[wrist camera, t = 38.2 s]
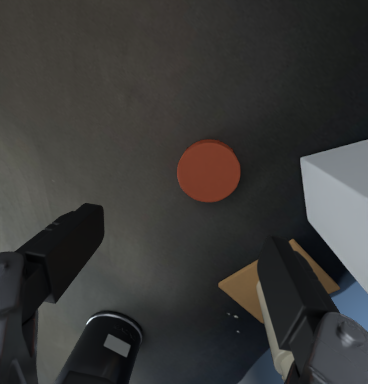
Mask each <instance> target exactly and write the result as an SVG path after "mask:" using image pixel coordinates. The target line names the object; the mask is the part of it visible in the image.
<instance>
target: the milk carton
mask: <svg viewBox="0 0 368 384" xmlns="http://www.w3.org/2000/svg"><path fill="white" fill-rule="evenodd" d="M300 163H301V171H302V179H303V187H304V195H305V203H306V210H307V218H308V221H309V222H310V223H311V225H312V226H313V227H314V228H315V230H316V231H317V232H318V233H319V235H320V236H321V237H322V238H323V239H324V241H325V242H326V243H327V244H328V246H329V247H330V248H331V249H332V251H333V252H334V253H335V254H336V255H337V257H338V258H339V259H340V260H341V262H342V263H343V264H344V265H345V267H346V268H347V269H348V270H349V271H350V273H351V274H352V275H353V276H354V278H355V279H356V280H357V281H358V282H359V284H360V285H361V286H362V287H363V289H364V290H365V291H366V292H367V293H368V140H364V141H360V142H357V143H353V144H349V145H346V146H342V147H338V148H335V149H331V150H327V151H323V152H320V153H316V154H312V155H309V156H305V157H302V158H301V159H300Z"/></svg>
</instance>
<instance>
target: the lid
mask: <svg viewBox="0 0 368 384" xmlns="http://www.w3.org/2000/svg"><path fill="white" fill-rule="evenodd" d="M177 177H178V181H179V184H180V186H181V188H182V189H183V190H184V192H185V193H186V194H188V195H189V196H190V197H192V198H193V199H195V200H198V201H202V202H215V201H219V200H222V199H224V198H226V197H227V196H229V195H230V194H231V193H232V192H233V191H234V190H235V188H236V187H237V185H238V182H239V179H240V164H239V162H238V160H237V157H236V155H235V153H234V152H233V149H232V148H230V147H229V146H227V145H226V144H224V143H223V142H220V141H219V140H211V139H208V140H201V141H198V142H196V143H194V144H192V145H191V146H190V147H189V148H188V147H187V149H186V151H185V152H184V154H183V156H182V157H181V159H180V161H179V163H178V169H177Z"/></svg>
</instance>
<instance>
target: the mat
mask: <svg viewBox="0 0 368 384" xmlns="http://www.w3.org/2000/svg"><path fill="white" fill-rule="evenodd" d="M289 243H290V245H291V246H292V248H293V250H294V251H298V252H299V253H300V254H301V255H302V256H303V257H304V258H305V259H306V260H307V261H308V263H309V264H310V266H311V267H312V269H313V272H315V274H316V275H317V277H318V278H319V279H318V280H319V281H320V282H321V283H322V285H323V286H324V288H325V290H326V291H327V293H328V294H330V293H332V292H335V291H337V290H339V289H340V287H339V286H338V285H337V284H336V283H335V282H334V280H333V279H332V278H331V277H330V276H329V275H328V274H327V273H326V272H325V271H324V270H323V269H322V268H321V267H320V266H319V265H318V264H317V263H316V262H315V261H314V260H313V259H312V258H311V257H310V256H309V255H308V254H307V253H306V252H305V251H304V250H303V248H302V247H301V246H300V245H299V244H298V243H297V242H296V241H295V240H294V239H292V240H290V241H289ZM257 262H258V260H256V261H255V262H253V263H251V264H250V265H248V266H246V267H244V268H243V269H241V270H239V271H238V272H236V273H234V274H233V275H231V276H229V277H228V278H226V279H224V280H223V281H221V282H219V283H218V284H219V287H220V288H221V289H222V290H223V291H225V292H226V293H227V294H228V295H229V296H231V297H232V298H233V299H234V300H235V301H236V302H238V303H239V304H240V305H241V306H242V307H244V308H245V309H246V310H247V311H248V312H250V313H251V314H252V315H253V316H254V317H255V318H257V319H258V320H259V321H260V322H261V323H264V321H263V317H262V312H261V308H260V304H259V300H258V296H257V291H256V286H257V283H258V281H259V277H258V274H257Z"/></svg>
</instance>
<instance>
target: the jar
mask: <svg viewBox="0 0 368 384" xmlns="http://www.w3.org/2000/svg"><path fill="white" fill-rule="evenodd" d="M256 291H257V296H258V300H259V304H260V308H261V312H262V317H263V321H264V325H265V329H266V334H267V338H268V342H269V346H270V350H271V355H272V359H273V363H274V366H275V369H276V370H277V372H278V373H280V374H281V375H282V376H283V377H282V379H283V381H284V383H285V380H286V377H287V375H288V372H289V369H290V367H291V364H292V362H293V361H294V357H293V354H292V352H290V351H285V350H280V349H279V347H278V343H277V340H276V336H275V333H274V329H273V326H272V322H271V319H270V315H269V312H268V309H267V305H266V302H265V298H264V295H263V291H262V288H261V284H260V281H258V283H257V286H256Z"/></svg>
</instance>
